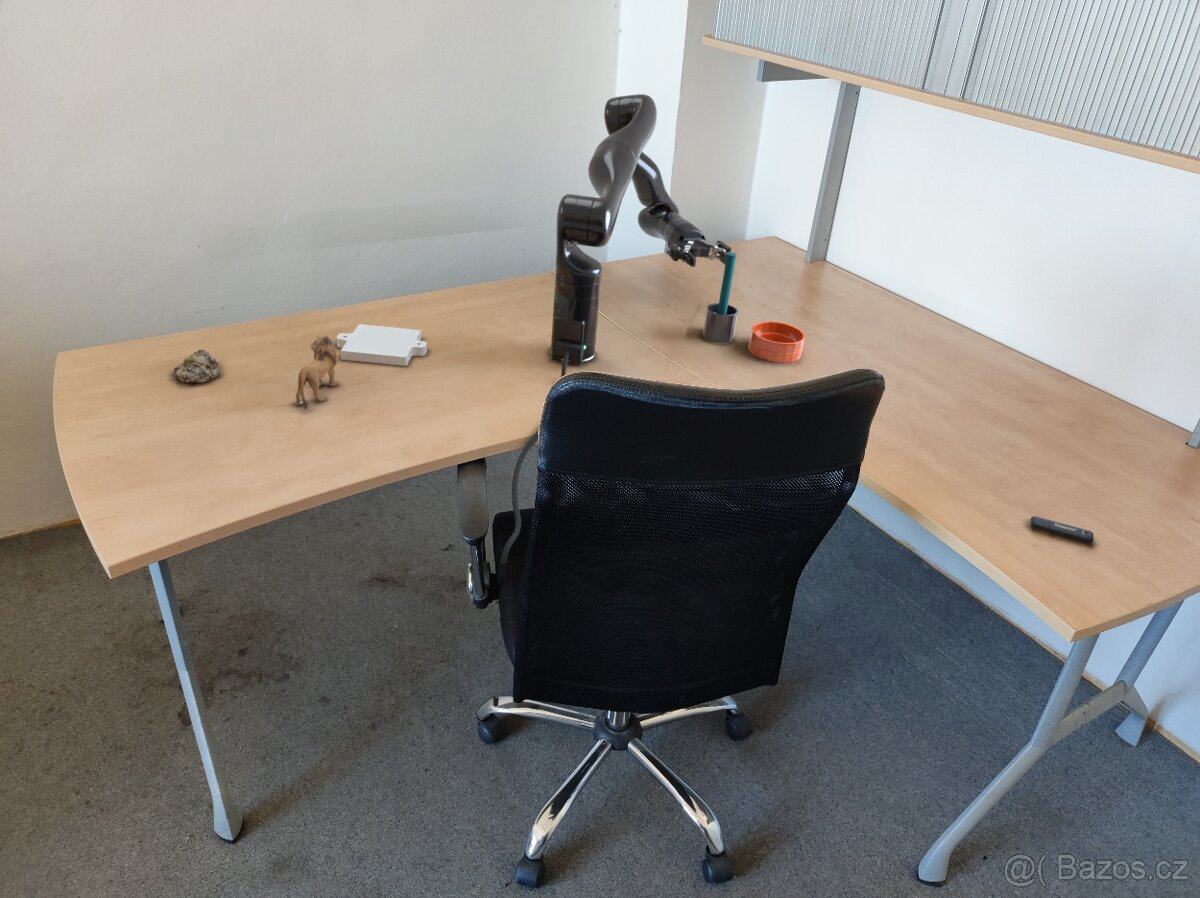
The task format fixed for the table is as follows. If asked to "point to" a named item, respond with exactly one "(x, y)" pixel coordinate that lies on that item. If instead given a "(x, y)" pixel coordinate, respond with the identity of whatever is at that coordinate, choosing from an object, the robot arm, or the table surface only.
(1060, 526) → the usb stick
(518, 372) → the table surface
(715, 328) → the tumbler
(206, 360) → the mineral rock
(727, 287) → the straw
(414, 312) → the table surface
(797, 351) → the bowl
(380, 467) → the table surface
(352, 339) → the mounting plate
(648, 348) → the table surface
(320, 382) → the lion figurine
